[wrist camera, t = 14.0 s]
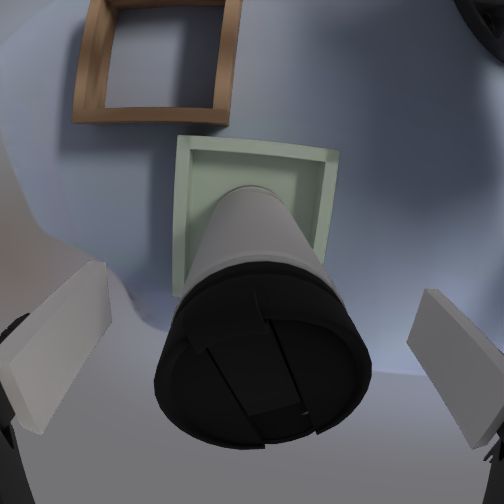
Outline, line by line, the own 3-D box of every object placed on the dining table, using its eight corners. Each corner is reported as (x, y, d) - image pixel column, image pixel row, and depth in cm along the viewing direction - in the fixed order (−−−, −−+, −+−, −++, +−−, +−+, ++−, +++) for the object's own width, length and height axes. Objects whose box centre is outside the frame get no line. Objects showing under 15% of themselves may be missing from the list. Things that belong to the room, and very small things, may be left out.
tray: (185, 135, 25) (177, 135, 22) (329, 149, 26) (339, 150, 23) (178, 282, 29) (172, 296, 27) (308, 292, 30) (314, 307, 27)
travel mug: (273, 169, 25) (359, 259, 6) (298, 244, 27) (388, 438, 8) (199, 196, 26) (96, 343, 7) (228, 268, 28) (208, 484, 9)
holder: (110, 3, 20) (93, -13, 17) (242, -3, 21) (242, -23, 17) (93, 124, 24) (71, 123, 21) (228, 126, 25) (225, 123, 21)
